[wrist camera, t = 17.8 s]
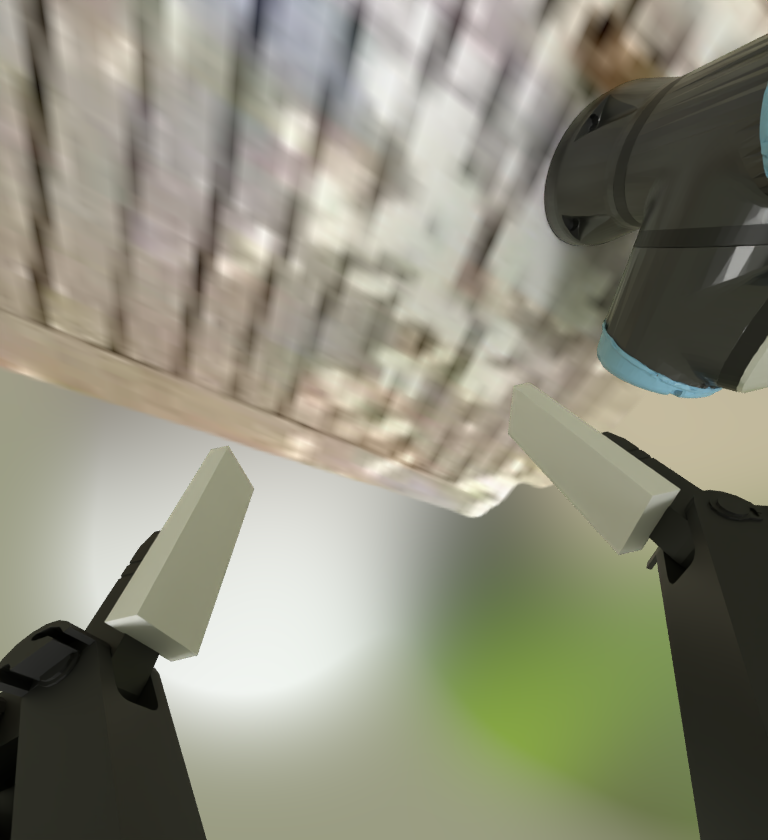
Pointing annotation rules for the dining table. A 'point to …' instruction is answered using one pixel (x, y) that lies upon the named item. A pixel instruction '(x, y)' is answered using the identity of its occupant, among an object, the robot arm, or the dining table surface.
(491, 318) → the dining table surface
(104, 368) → the dining table surface
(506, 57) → the dining table surface
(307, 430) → the dining table surface
